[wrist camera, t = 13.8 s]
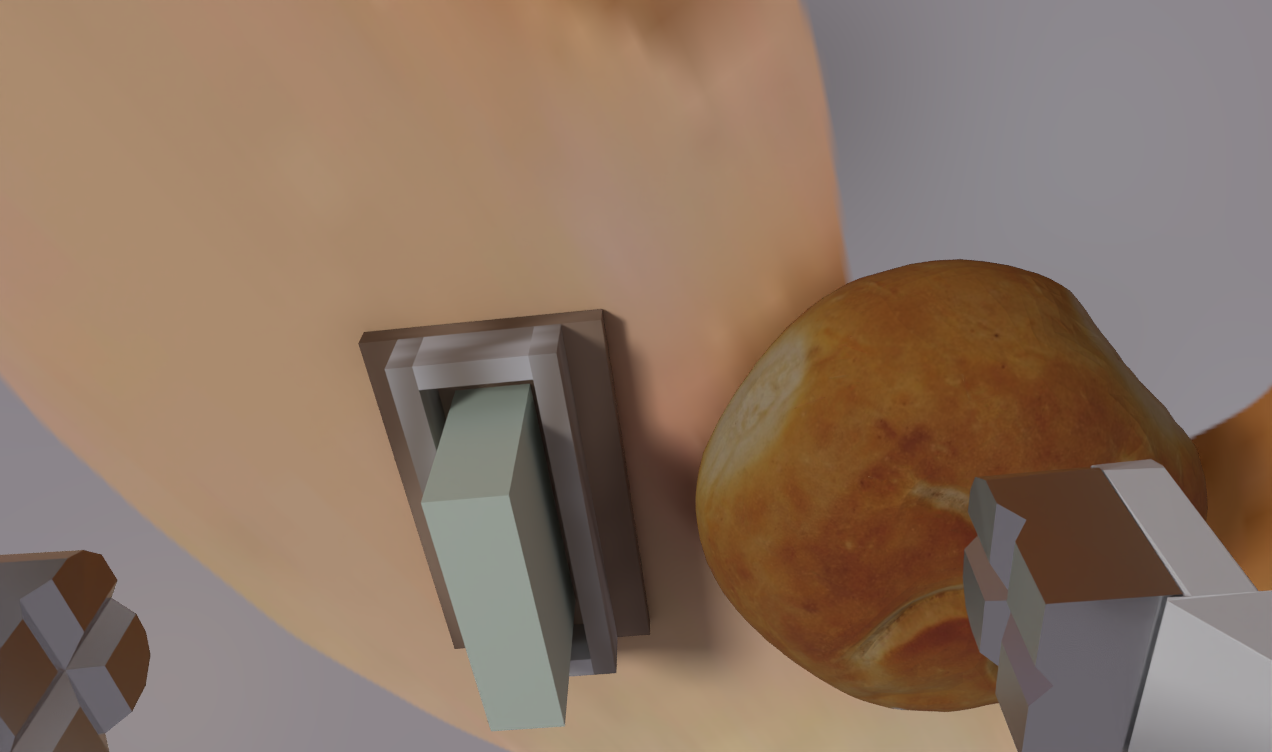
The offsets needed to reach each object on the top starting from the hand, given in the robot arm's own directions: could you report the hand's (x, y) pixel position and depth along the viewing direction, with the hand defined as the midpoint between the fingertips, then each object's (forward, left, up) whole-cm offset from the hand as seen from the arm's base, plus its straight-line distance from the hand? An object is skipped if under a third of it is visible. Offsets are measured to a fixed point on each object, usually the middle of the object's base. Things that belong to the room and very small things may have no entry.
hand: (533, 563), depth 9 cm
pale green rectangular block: (+8, +24, -30) cm, 39 cm away
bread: (-12, +24, -32) cm, 41 cm away
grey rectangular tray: (+8, +24, -31) cm, 40 cm away
